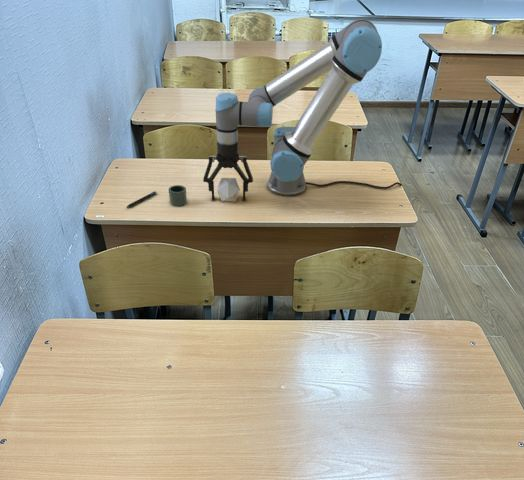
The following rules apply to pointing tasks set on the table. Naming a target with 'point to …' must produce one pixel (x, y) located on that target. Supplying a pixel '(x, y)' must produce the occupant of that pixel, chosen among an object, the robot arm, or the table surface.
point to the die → (228, 189)
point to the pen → (141, 199)
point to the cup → (177, 195)
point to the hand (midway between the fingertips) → (228, 199)
